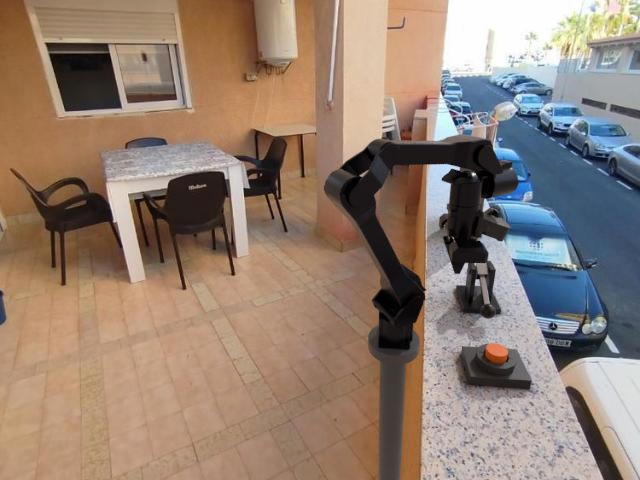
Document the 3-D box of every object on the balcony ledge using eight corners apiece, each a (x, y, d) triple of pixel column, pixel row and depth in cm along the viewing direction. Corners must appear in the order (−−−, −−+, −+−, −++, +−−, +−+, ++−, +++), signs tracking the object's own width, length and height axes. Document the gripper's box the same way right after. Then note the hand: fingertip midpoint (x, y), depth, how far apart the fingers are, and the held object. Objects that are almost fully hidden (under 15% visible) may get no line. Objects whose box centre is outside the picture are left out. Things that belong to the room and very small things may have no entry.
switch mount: (500, 313, 84) (507, 276, 80) (463, 312, 85) (467, 275, 81) (489, 290, 93) (494, 255, 89) (455, 289, 94) (459, 254, 90)
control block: (469, 384, 66) (471, 369, 65) (461, 353, 73) (462, 339, 72) (529, 389, 65) (533, 373, 63) (515, 356, 72) (518, 342, 70)
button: (487, 363, 66) (488, 355, 66) (482, 349, 70) (483, 342, 69) (509, 364, 66) (510, 357, 65) (503, 350, 69) (504, 343, 68)
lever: (495, 321, 80) (498, 315, 78) (479, 320, 81) (482, 314, 78) (485, 270, 88) (488, 263, 85) (471, 270, 88) (474, 262, 86)
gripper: (526, 220, 62) (511, 299, 69) (495, 188, 79) (486, 253, 85) (456, 220, 64) (448, 297, 70) (441, 188, 81) (436, 253, 87)
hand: (456, 273), depth 78 cm, fingers closed
